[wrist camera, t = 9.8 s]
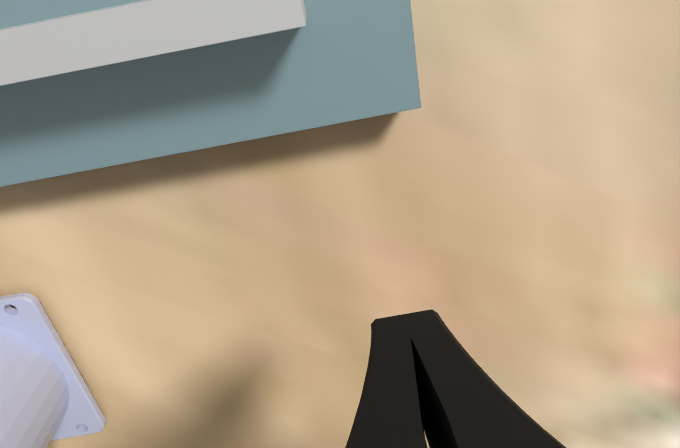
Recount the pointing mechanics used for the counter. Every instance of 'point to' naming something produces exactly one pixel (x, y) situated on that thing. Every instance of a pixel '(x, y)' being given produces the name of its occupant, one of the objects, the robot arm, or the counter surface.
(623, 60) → the counter surface
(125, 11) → the board
